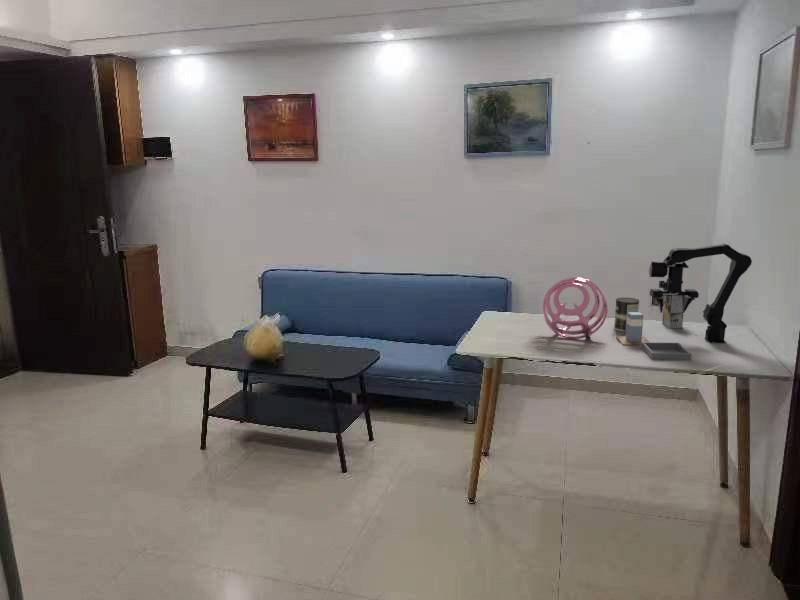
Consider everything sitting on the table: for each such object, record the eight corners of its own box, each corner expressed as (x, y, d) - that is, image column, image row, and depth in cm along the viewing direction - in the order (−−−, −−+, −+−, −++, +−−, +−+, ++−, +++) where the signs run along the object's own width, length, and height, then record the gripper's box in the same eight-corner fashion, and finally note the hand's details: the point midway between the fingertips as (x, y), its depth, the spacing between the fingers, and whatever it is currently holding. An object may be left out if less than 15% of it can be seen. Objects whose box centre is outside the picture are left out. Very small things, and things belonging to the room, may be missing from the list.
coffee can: (613, 330, 272) (615, 301, 269) (614, 325, 281) (616, 296, 278) (637, 332, 268) (639, 302, 265) (637, 326, 277) (639, 298, 274)
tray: (677, 349, 242) (678, 342, 241) (690, 361, 228) (691, 353, 227) (641, 349, 244) (641, 342, 243) (651, 360, 230) (652, 353, 229)
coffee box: (683, 328, 274) (685, 294, 270) (669, 328, 274) (671, 294, 270) (674, 322, 283) (677, 290, 279) (661, 323, 283) (663, 290, 279)
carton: (637, 338, 256) (639, 311, 253) (641, 341, 251) (643, 314, 248) (625, 338, 256) (627, 312, 253) (629, 341, 251) (631, 315, 248)
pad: (644, 338, 258) (644, 336, 258) (652, 346, 247) (652, 344, 247) (616, 338, 260) (616, 336, 260) (622, 346, 248) (622, 344, 248)
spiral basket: (562, 283, 284) (554, 259, 261) (619, 303, 270) (615, 279, 247) (537, 333, 279) (527, 313, 256) (593, 356, 265) (588, 337, 242)
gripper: (691, 274, 258) (688, 308, 261) (647, 274, 260) (644, 308, 263) (700, 279, 247) (697, 314, 250) (654, 278, 249) (651, 314, 253)
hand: (672, 312), depth 254 cm, fingers open, 9 cm apart
